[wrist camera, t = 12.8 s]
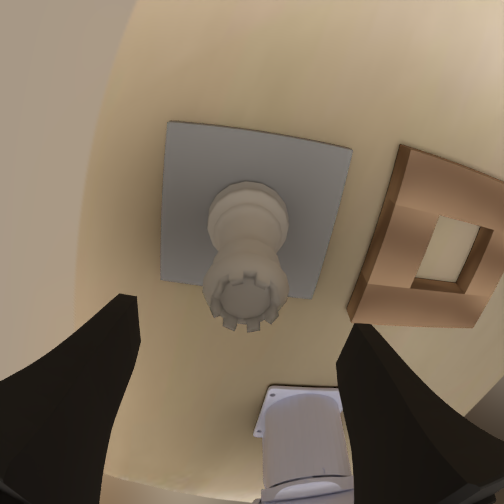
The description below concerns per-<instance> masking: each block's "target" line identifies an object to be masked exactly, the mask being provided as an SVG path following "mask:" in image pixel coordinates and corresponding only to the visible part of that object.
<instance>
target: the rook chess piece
mask: <svg viewBox="0 0 504 504" xmlns="http://www.w3.org/2000/svg"><path fill="white" fill-rule="evenodd" d="M288 219H289V217H288V213H287V208H286V204H285V203H284V201H283V200H282V199H281V197H280V196H279V195H278V193H277V192H276V191H274V190H272V189H271V188H269V187H267V186H266V185H264V184H262V183H255V182H247V181H245V182H241V183H237V184H233V185H229V186H228V187H227V188H225V189H224V190H223V191H221V192H220V193H219V194H217V195H216V197H215V199H214V201H213V202H212V204H211V206H210V208H209V216H208V226H207V229H208V232H209V235H210V238H211V241H212V244H213V246H214V247H215V248H216V249H217V250H218V253H217V255H216V256H215V258H214V261H213V265H211V267H210V268H209V270H208V272H207V273H206V275H205V277H204V279H203V294H204V297H205V299H206V301H207V304H208V305H209V306H210V310H211V312H212V315H213V317H214V318H215V317H218V316H221V317H223V326H224V327H226V328H228V329H231V330H233V331H235V328H236V326H237V323H238V324H247V333H248V332H254V331H259V330H260V322H261V321H263V320H265V321H267V322H268V323H270V324H272V323H273V322H274V320H275V319H276V318H277V317H278V316H279V315H278V311H279V310H280V309H281V307H282V306H283V305H284V304H285V303H286V300H287V296H288V293H289V289H290V288H289V284H288V280H287V275H286V274H285V273H284V271H283V270H282V269H281V267H280V263H279V259H278V256H277V255H276V253H277V252H278V251H279V249H280V248H281V246H282V245H283V244H284V242H285V240H286V237H287V232H288V227H289V223H288Z"/></svg>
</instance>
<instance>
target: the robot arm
mask: <svg viewBox="0 0 504 504" xmlns="http://www.w3.org/2000/svg"><path fill="white" fill-rule="evenodd" d="M140 343H141V338H140V328H139V317H138V305H137V296H131V295H125V294H118V295H117V296H116V297H115V298H114V299H112V300H111V301H110V302H109V303H108V304H107V305H106V306H104V307H103V308H102V309H101V310H100V311H99V312H98V313H97V314H95V315H94V316H93V317H92V318H91V319H90V320H89V321H87V322H86V323H85V324H84V325H83V326H82V327H80V328H79V329H78V330H77V331H76V332H74V333H73V334H72V335H71V336H70V337H68V338H67V339H66V340H65V341H63V342H62V343H61V344H59V345H58V346H57V347H55V348H54V349H53V350H52V351H50V352H49V353H47V354H46V355H44V356H43V357H41V358H40V359H38V360H37V361H35V362H34V363H32V364H31V365H29V366H27V367H26V368H24V369H22V370H20V371H18V372H16V373H15V374H13V375H11V376H9V377H8V378H6V379H4V380H2V381H0V504H99V500H100V491H101V483H102V476H103V470H104V464H105V458H106V453H107V448H108V443H109V439H110V434H111V430H112V427H113V423H114V420H115V417H116V414H117V412H118V409H119V406H120V404H121V401H122V398H123V396H124V393H125V390H126V388H127V385H128V382H129V380H130V377H131V375H132V372H133V369H134V366H135V362H136V359H137V355H138V351H139V347H140ZM336 370H337V381H338V388H312V387H290V386H270V387H269V388H268V390H267V393H266V396H265V399H264V402H263V405H262V408H261V411H260V414H259V417H258V420H257V423H256V426H255V429H254V432H253V436H254V437H261V438H262V444H263V482H264V486H265V488H266V489H262V490H261V499H255V500H254V501H253V502H252V504H493V503H495V502H496V498H495V495H494V494H495V493H496V492H497V491H499V490H500V489H502V488H504V441H502V440H500V439H498V438H496V437H494V436H492V435H490V434H489V433H487V432H485V431H484V430H482V429H480V428H479V427H477V426H476V425H474V424H473V423H471V422H470V421H468V420H467V419H465V418H464V417H463V416H462V415H460V414H459V413H457V412H456V411H455V410H454V409H452V408H451V407H450V406H449V405H448V404H446V403H445V402H444V401H443V400H442V399H441V398H440V397H438V396H437V395H436V394H435V393H434V392H433V391H432V390H431V389H430V388H429V387H428V386H427V385H426V384H425V383H424V382H423V381H422V380H421V379H420V378H419V377H418V376H417V375H416V374H415V373H414V372H413V371H412V370H411V369H410V367H409V366H408V365H407V364H406V363H405V362H404V361H403V360H402V359H401V357H400V356H399V355H398V354H397V353H396V352H395V351H394V349H393V348H392V347H391V346H390V345H389V344H388V343H387V341H386V340H385V339H384V338H383V337H382V336H381V335H380V333H379V332H378V331H377V330H376V329H375V328H374V327H373V326H372V325H371V324H364V323H354V325H353V328H352V330H351V332H350V334H349V336H348V339H347V341H346V343H345V345H344V347H343V349H342V352H341V354H340V356H339V358H338V360H337V362H336ZM342 410H343V412H344V417H345V421H346V425H347V430H348V435H349V439H350V445H351V451H352V462H353V475H352V474H351V469H350V463H349V457H348V452H347V447H346V441H345V436H344V431H343V426H342V421H341V416H340V413H341V412H342Z"/></svg>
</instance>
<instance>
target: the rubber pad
mask: <svg viewBox="0 0 504 504" xmlns="http://www.w3.org/2000/svg"><path fill="white" fill-rule="evenodd" d="M352 153H353V150H352V149H350V148H347V147H342V146H338V145H333V144H329V143H324V142H319V141H314V140H309V139H304V138H299V137H293V136H288V135H282V134H276V133H270V132H264V131H257V130H250V129H243V128H236V127H228V126H220V125H211V124H201V123H191V122H180V121H169V122H167V133H166V145H165V158H164V173H163V190H162V214H161V280H164V281H171V282H178V283H185V284H192V285H199V286H203V279H204V277H205V275H206V273H207V272H208V270H209V268H210V267H211V265H213V261H214V258H215V256H216V255H217V253H218V250H217V249H216V248H215V247H214V246H213V244H212V241H211V238H210V235H209V232H208V229H207V226H208V216H209V208H210V206H211V204H212V202H213V201H214V199H215V197H216V195H217V194H219V193H220V192H221V191H223V190H224V189H225V188H227V187H228V186H229V185H233V184H237V183H241V182H245V181H247V182H255V183H262V184H264V185H266V186H267V187H269V188H271V189H272V190H274V191H276V192H277V193H278V195H279V196H280V197H281V199H282V200H283V201H284V203H285V204H286V208H287V213H288V217H289V219H288V223H289V227H288V232H287V237H286V240H285V242H284V244H283V245H282V246H281V248H280V249H279V251H278V252H277V253H276V255H277V256H278V259H279V263H280V267H281V269H282V270H283V271H284V273H285V274H286V275H287V280H288V284H289V288H290V289H289V293H288V296H287V297H295V298H304V299H312V297H313V294H314V291H315V288H316V284H317V281H318V278H319V275H320V271H321V268H322V265H323V261H324V258H325V255H326V251H327V248H328V244H329V241H330V237H331V234H332V230H333V227H334V223H335V219H336V216H337V212H338V208H339V205H340V201H341V197H342V193H343V189H344V185H345V181H346V177H347V173H348V169H349V165H350V161H351V157H352Z"/></svg>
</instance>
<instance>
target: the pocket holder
mask: <svg viewBox="0 0 504 504" xmlns="http://www.w3.org/2000/svg"><path fill="white" fill-rule="evenodd" d="M439 215H441V216H445V217H449V218H453V219H456V220H460V221H464V222H468V223H471V224H475V225H478V226H481V227H480V230H479V232H478V235H477V237H476V240H475V242H474V244H473V247H472V249H471V251H470V254H469V256H468V258H467V261H466V263H465V265H464V267H463V269H462V271H461V274H460V276H459V278H458V280H457V282H456V283H452V282H444V281H436V280H428V279H421V278H415V276H416V273H417V271H418V269H419V266H420V264H421V262H422V259H423V257H424V254H425V252H426V249H427V247H428V244H429V242H430V239H431V237H432V234H433V231H434V229H435V226H436V223H437V221H438V218H439ZM503 272H504V182H502V181H500V180H498V179H495V178H493V177H491V176H488V175H486V174H483V173H481V172H479V171H476V170H474V169H471V168H468V167H466V166H463V165H461V164H458V163H455V162H453V161H450V160H447V159H444V158H441V157H438V156H436V155H433V154H430V153H427V152H424V151H421V150H418V149H414V148H411V147H408V146H405V145H401V144H400V147H399V151H398V154H397V158H396V162H395V166H394V169H393V173H392V177H391V180H390V184H389V187H388V191H387V194H386V198H385V201H384V204H383V207H382V211H381V214H380V217H379V220H378V223H377V226H376V229H375V233H374V236H373V239H372V241H371V244H370V247H369V250H368V253H367V256H366V259H365V262H364V264H363V267H362V270H361V273H360V275H359V278H358V281H357V283H356V286H355V289H354V291H353V294H352V297H351V299H350V302H349V304H348V307H347V312H348V315H349V318H350V321H351V323H364V324H375V325H392V326H413V327H440V328H473V327H474V325H475V324H476V322H477V320H478V319H479V317H480V315H481V314H482V312H483V310H484V308H485V307H486V305H487V303H488V301H489V299H490V297H491V296H492V294H493V292H494V290H495V288H496V286H497V284H498V282H499V280H500V278H501V276H502V274H503Z"/></svg>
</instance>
